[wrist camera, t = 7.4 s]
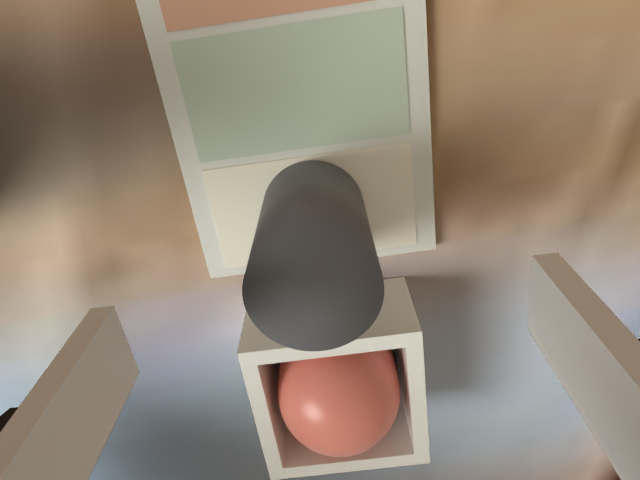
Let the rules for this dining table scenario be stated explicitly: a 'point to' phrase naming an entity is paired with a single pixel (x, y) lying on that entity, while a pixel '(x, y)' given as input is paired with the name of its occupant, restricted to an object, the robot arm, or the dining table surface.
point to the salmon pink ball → (340, 401)
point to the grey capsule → (313, 260)
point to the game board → (302, 145)
